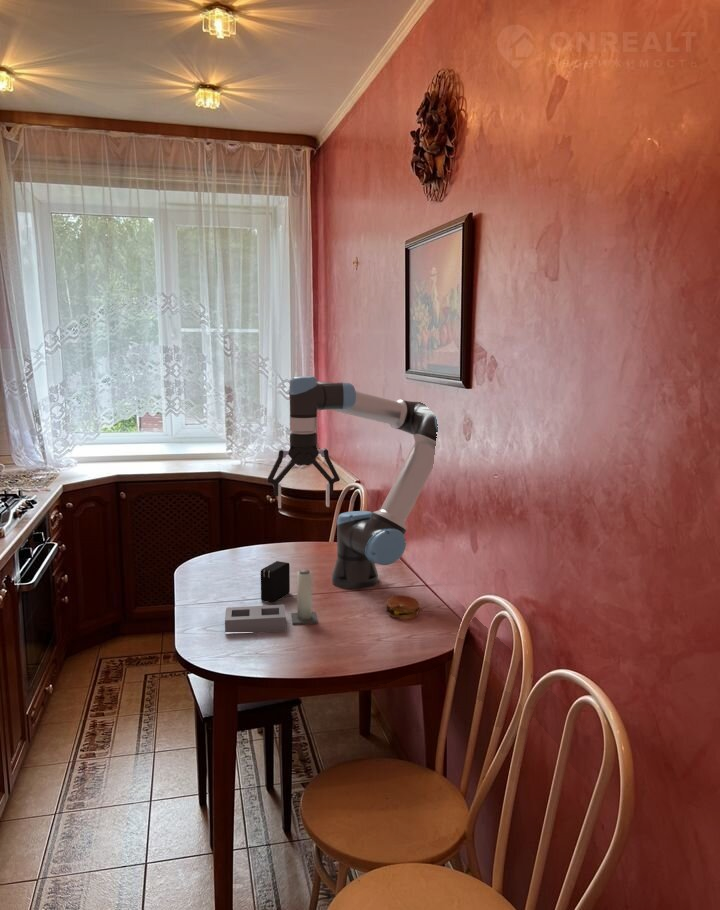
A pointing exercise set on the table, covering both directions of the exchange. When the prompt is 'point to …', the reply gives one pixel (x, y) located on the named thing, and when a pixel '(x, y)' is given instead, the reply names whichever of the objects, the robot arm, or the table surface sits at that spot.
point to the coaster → (298, 622)
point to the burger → (402, 607)
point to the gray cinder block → (255, 619)
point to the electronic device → (275, 581)
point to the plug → (304, 594)
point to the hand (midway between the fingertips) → (303, 506)
